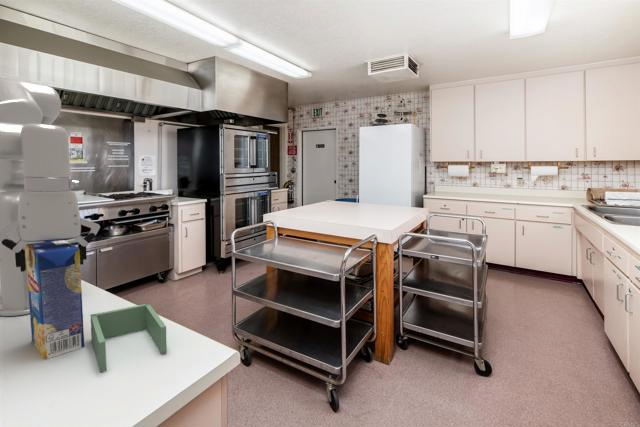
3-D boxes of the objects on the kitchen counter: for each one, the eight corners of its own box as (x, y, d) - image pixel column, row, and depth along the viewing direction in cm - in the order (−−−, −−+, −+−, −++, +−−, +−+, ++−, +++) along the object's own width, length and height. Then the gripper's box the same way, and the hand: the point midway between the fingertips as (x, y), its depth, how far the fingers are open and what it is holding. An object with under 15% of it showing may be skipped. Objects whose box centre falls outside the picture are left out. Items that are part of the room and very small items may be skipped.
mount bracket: (91, 339, 77) (90, 314, 76) (149, 326, 84) (149, 303, 83) (100, 372, 65) (99, 342, 64) (166, 352, 73) (166, 326, 72)
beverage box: (69, 330, 80) (63, 239, 78) (84, 347, 73) (79, 248, 71) (31, 340, 75) (25, 244, 72) (44, 360, 68) (37, 253, 65)
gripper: (96, 185, 78) (99, 257, 80) (-8, 184, 67) (-1, 268, 69) (100, 187, 72) (103, 264, 75) (-13, 187, 62) (-5, 278, 64)
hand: (53, 266), depth 72 cm, fingers open, 9 cm apart
